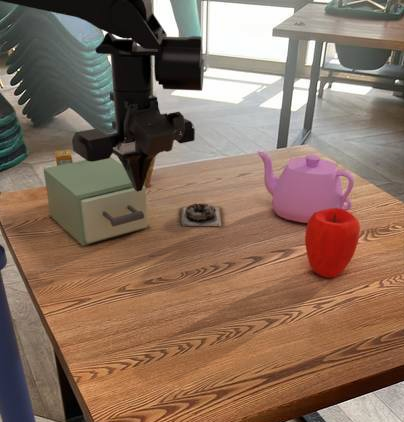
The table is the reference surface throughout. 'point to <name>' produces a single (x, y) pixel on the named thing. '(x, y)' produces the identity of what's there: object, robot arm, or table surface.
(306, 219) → the teapot
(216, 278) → the table surface
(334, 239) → the apple
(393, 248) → the table surface
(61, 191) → the cabinet
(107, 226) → the drawer
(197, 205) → the donut
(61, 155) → the supplement box
